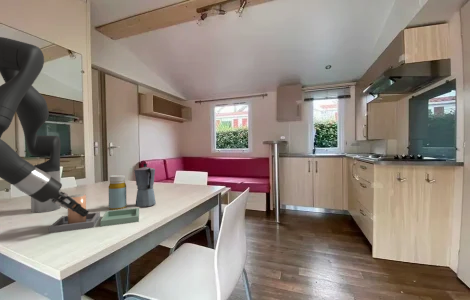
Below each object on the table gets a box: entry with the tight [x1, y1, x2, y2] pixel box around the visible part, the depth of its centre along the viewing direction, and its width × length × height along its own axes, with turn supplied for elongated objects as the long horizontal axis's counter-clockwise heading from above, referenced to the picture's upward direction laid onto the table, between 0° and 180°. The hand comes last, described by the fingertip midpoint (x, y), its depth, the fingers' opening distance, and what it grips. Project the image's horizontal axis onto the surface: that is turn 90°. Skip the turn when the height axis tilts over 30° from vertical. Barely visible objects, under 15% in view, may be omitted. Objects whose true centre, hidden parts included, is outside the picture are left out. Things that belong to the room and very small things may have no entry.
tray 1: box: [48, 211, 101, 234], centre depth 76 cm, size 12×12×2 cm
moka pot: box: [133, 163, 156, 208], centre depth 102 cm, size 10×15×20 cm, turn 43°
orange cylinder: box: [67, 193, 87, 224], centre depth 76 cm, size 5×5×10 cm
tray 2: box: [100, 207, 140, 227], centre depth 81 cm, size 12×12×2 cm
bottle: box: [108, 174, 127, 211], centre depth 97 cm, size 7×7×15 cm
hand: (83, 212), depth 77 cm, fingers closed on orange cylinder, 5 cm apart
